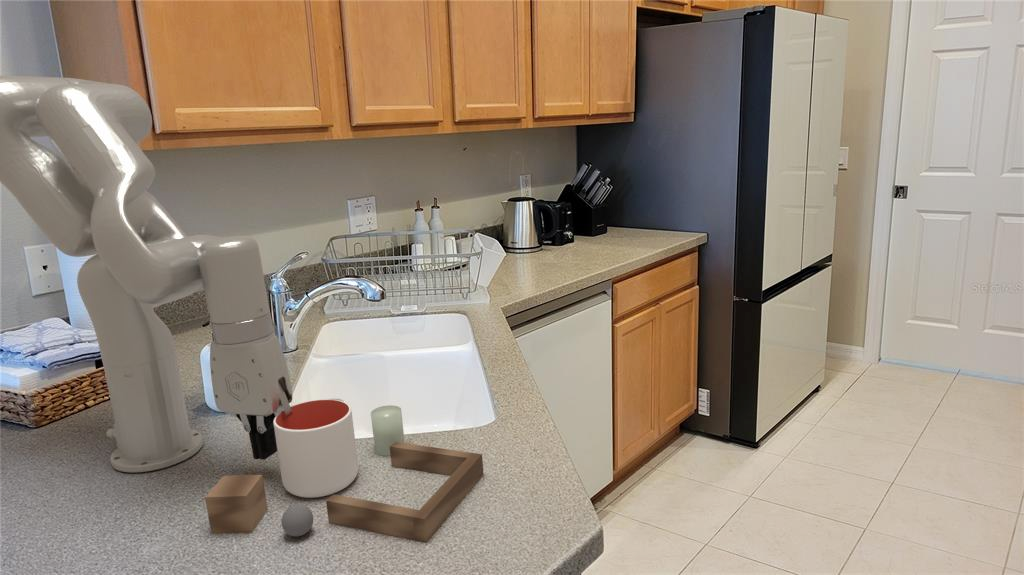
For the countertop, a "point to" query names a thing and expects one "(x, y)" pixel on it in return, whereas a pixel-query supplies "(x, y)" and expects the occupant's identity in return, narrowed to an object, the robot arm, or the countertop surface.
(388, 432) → the jar
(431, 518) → the bay
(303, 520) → the grey ball
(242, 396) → the robot arm
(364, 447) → the countertop surface
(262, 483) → the walnut block
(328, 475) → the cup
